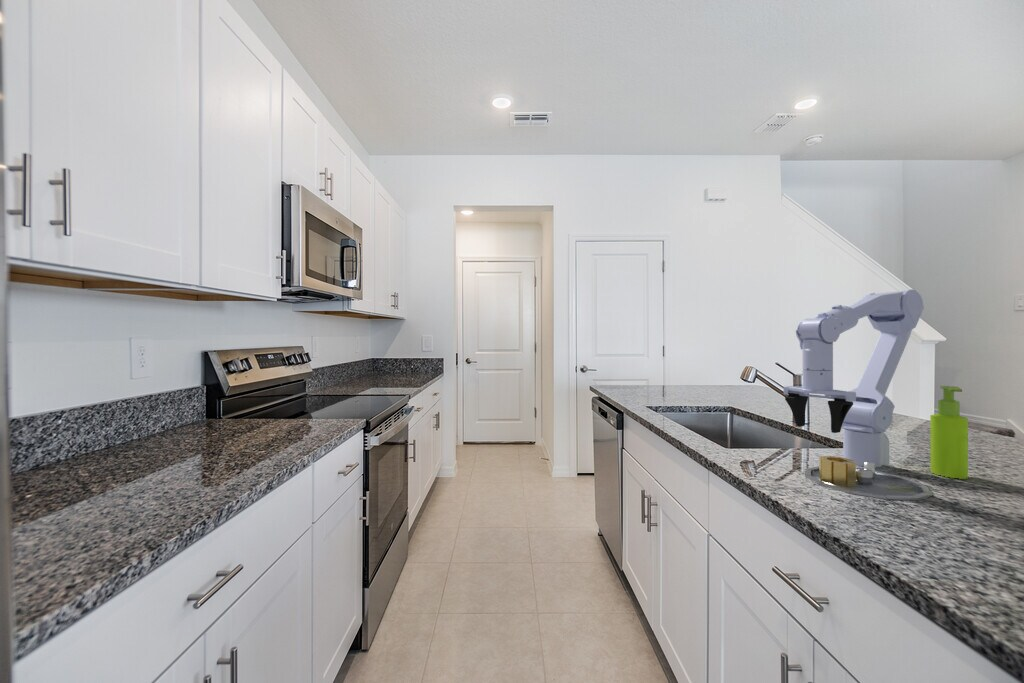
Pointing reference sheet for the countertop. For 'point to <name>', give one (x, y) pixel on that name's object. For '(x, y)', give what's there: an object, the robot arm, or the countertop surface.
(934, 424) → the soap dispenser
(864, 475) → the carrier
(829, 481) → the gear
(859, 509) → the countertop surface
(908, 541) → the countertop surface
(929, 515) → the countertop surface
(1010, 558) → the countertop surface
